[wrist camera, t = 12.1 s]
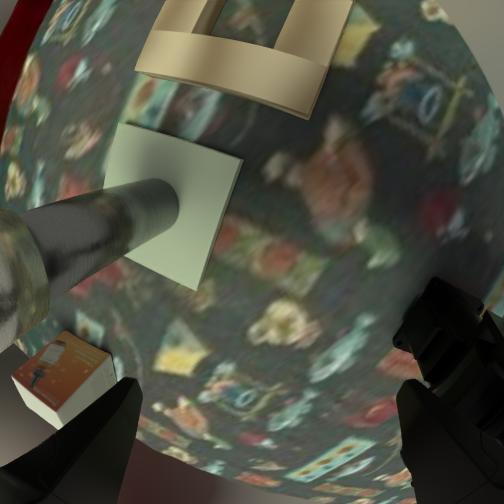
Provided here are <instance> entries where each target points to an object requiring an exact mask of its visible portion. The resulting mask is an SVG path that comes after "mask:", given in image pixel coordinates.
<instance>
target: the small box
mask: <svg viewBox="0 0 504 504" xmlns="http://www.w3.org/2000/svg"><path fill="white" fill-rule="evenodd" d="M12 379H13V381H14V383H15V385H16V387H17V389H18V391H19V392H20V394H21V396H22V398H23V400H24V402H25V403H26V405H27V406H28V407H29V408H30V409H32V410H33V411H35V412H36V413H37V414H38V415H40V416H41V417H42V418H43V419H45V420H46V421H47V422H49V423H50V424H52V425H53V426H54V427H55V428H57V429H58V430H59V429H60V428H62V427H63V426H64V425H65V424H67V423H68V422H69V421H70V420H72V419H73V418H74V417H75V416H77V415H78V414H79V413H80V412H82V411H83V410H84V409H85V408H87V407H88V406H89V405H90V404H92V403H93V402H94V401H95V400H96V399H98V398H99V397H100V396H101V395H103V394H104V393H105V392H106V391H108V390H109V389H110V388H111V387H112V386H114V385H115V384H116V383H117V381H116V377H115V372H114V368H113V363H112V358H111V355H110V354H109V353H106V352H104V351H102V350H100V349H98V348H96V347H94V346H92V345H90V344H88V343H86V342H85V341H83V340H81V339H79V338H77V337H76V336H74V335H72V334H71V333H69V332H68V331H64V332H62V333H61V334H60V335H59V336H57V337H56V338H55V339H54V340H52V341H51V342H50V343H49V344H48V345H46V346H45V347H44V348H43V349H41V350H40V351H39V352H38V353H37V354H35V355H34V356H33V357H32V358H31V359H30V360H29V361H27V362H26V363H25V364H24V365H23V366H21V367H20V368H19V369H18V370H17V371H16V372H14V373H13V374H12Z"/></svg>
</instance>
